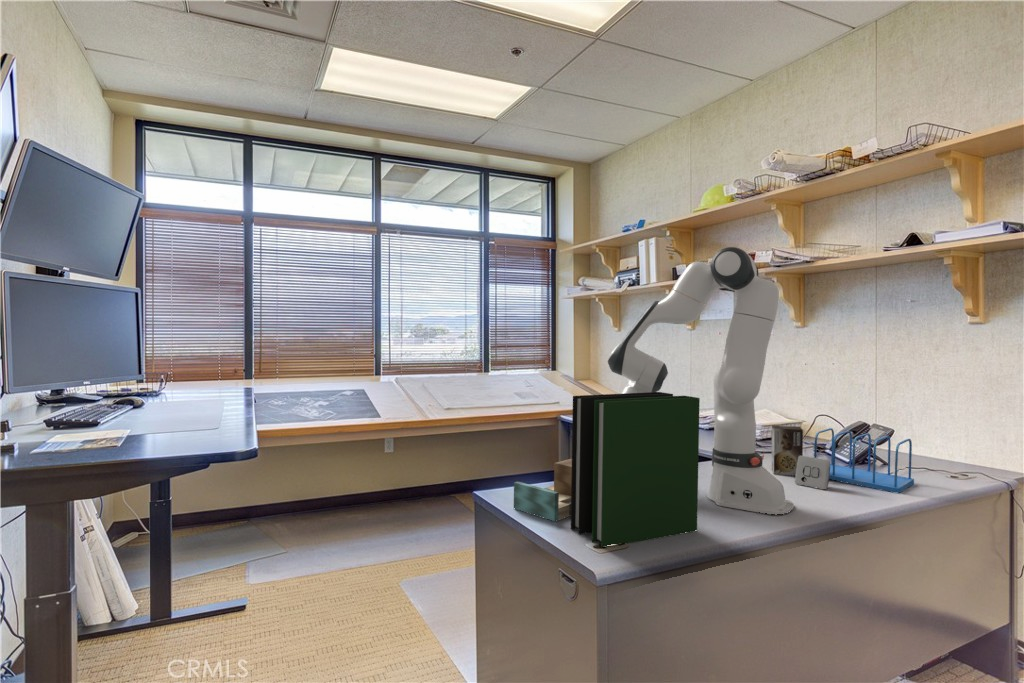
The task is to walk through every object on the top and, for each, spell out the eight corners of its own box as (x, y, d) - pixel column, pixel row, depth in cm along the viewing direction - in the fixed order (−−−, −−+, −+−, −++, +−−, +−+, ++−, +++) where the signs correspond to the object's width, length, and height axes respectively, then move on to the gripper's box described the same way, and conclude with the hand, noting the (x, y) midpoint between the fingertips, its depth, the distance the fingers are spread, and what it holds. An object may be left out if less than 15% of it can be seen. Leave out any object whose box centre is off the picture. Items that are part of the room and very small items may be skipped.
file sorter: (810, 477, 183) (811, 431, 183) (829, 469, 195) (830, 426, 195) (898, 494, 164) (899, 443, 164) (914, 484, 176) (915, 437, 176)
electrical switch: (794, 484, 173) (796, 455, 174) (800, 483, 177) (802, 454, 177) (826, 491, 166) (828, 460, 167) (832, 490, 169) (834, 460, 170)
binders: (603, 549, 118) (606, 402, 118) (567, 527, 131) (569, 395, 131) (697, 531, 130) (699, 397, 129) (655, 512, 143) (657, 391, 143)
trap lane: (600, 504, 149) (600, 479, 149) (554, 521, 135) (554, 493, 135) (560, 493, 159) (560, 469, 159) (513, 508, 144) (514, 482, 144)
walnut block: (588, 490, 152) (589, 462, 152) (571, 496, 146) (571, 466, 146) (571, 486, 156) (571, 458, 156) (553, 491, 150) (554, 462, 150)
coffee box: (799, 472, 189) (800, 426, 189) (802, 477, 183) (803, 429, 182) (770, 470, 192) (771, 424, 192) (772, 474, 186) (774, 427, 185)
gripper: (599, 394, 179) (581, 426, 172) (656, 400, 165) (638, 436, 158) (606, 406, 182) (589, 439, 175) (662, 413, 168) (645, 449, 161)
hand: (612, 437), depth 166 cm, fingers closed
